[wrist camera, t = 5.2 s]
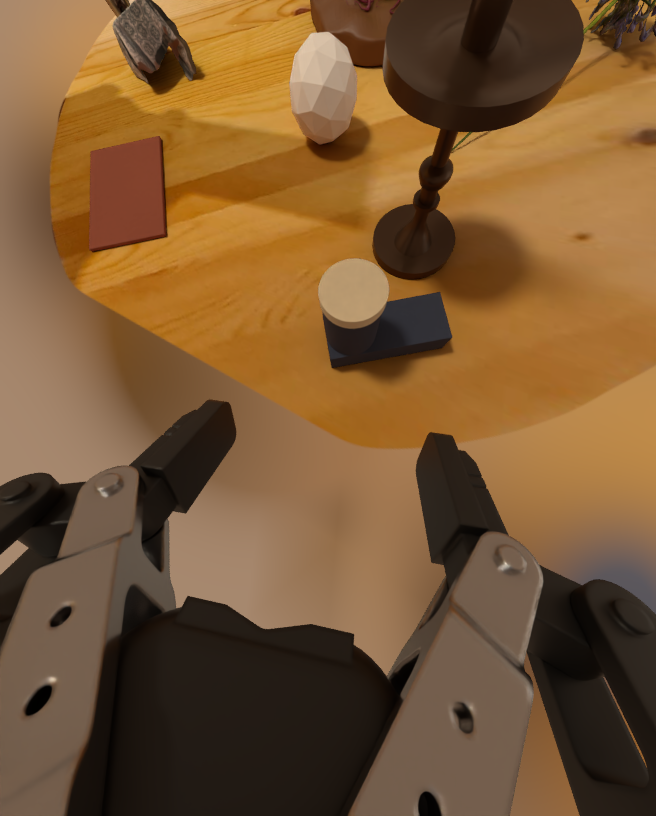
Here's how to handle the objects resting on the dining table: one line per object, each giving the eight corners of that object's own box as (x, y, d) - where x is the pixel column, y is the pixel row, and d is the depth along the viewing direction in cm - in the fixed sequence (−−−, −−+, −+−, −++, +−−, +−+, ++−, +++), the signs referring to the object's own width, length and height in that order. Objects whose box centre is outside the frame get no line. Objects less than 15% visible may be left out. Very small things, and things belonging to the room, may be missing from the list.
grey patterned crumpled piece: (162, 70, 31) (68, -20, 28) (179, 131, 37) (105, 62, 35) (204, 36, 32) (118, -52, 30) (214, 100, 39) (144, 33, 36)
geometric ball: (315, 168, 34) (268, 115, 28) (331, 99, 32) (284, 27, 26) (357, 153, 29) (312, 85, 23) (378, 71, 28) (335, -25, 21)
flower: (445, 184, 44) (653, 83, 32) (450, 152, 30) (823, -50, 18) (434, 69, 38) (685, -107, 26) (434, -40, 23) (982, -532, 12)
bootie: (331, 369, 26) (324, 328, 17) (323, 325, 27) (313, 265, 18) (442, 349, 26) (494, 296, 17) (430, 305, 26) (474, 233, 18)
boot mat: (166, 236, 30) (164, 233, 30) (92, 251, 31) (89, 249, 30) (161, 139, 33) (159, 135, 33) (93, 154, 34) (90, 151, 33)
